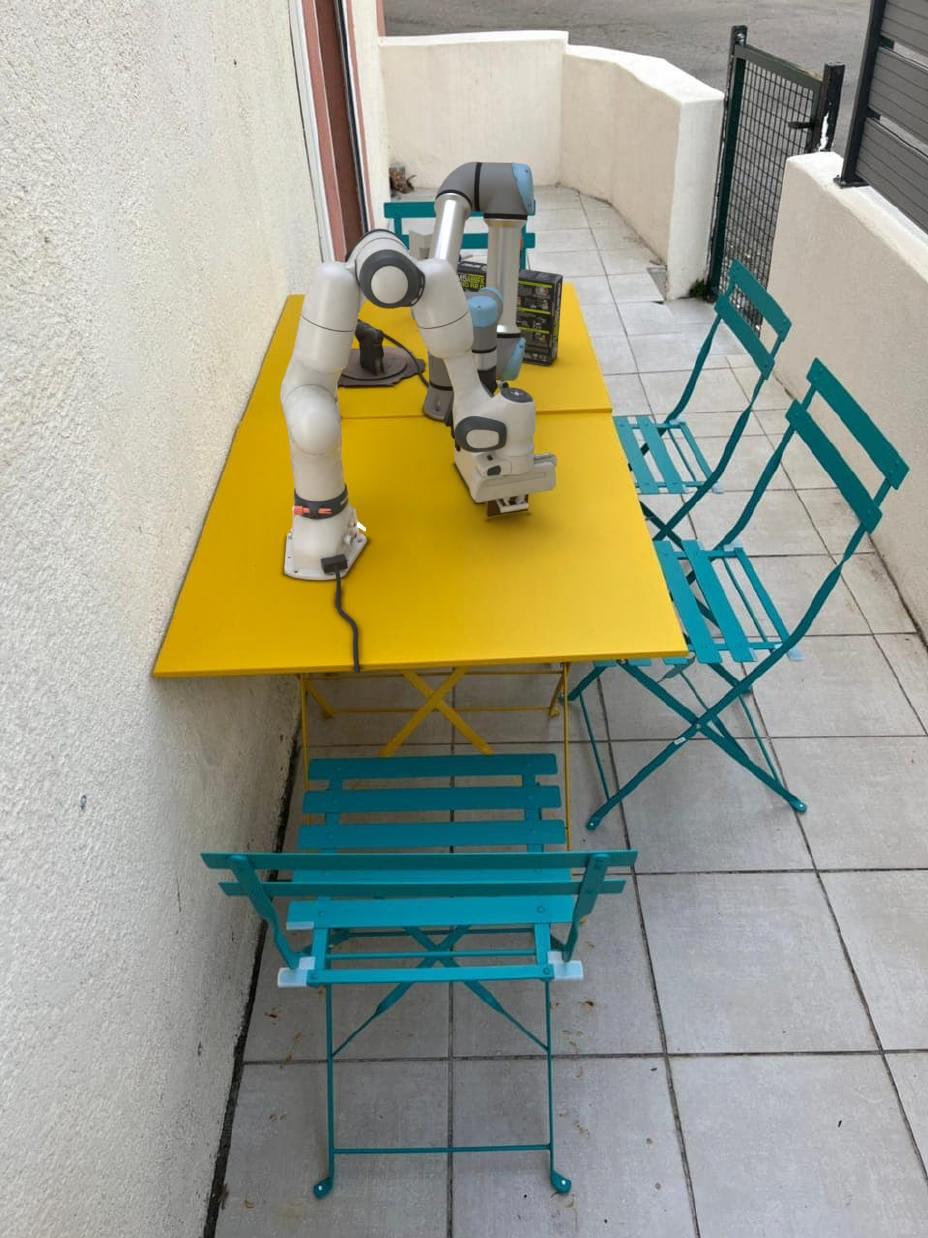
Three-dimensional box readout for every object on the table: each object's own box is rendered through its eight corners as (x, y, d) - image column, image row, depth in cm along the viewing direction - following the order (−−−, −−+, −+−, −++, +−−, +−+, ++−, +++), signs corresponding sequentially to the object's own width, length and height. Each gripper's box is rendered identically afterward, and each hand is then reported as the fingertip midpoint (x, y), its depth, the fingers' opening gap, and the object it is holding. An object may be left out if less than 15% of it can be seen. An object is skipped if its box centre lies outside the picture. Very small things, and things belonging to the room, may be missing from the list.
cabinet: (519, 496, 221) (520, 454, 214) (475, 503, 219) (475, 461, 211) (495, 458, 236) (496, 417, 228) (454, 464, 233) (453, 424, 226)
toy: (460, 304, 319) (459, 216, 299) (477, 312, 313) (477, 222, 294) (381, 329, 302) (375, 237, 283) (398, 337, 296) (393, 244, 277)
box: (558, 357, 283) (564, 272, 266) (551, 366, 278) (556, 280, 261) (461, 342, 293) (461, 259, 276) (453, 350, 288) (452, 266, 271)
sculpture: (406, 397, 263) (403, 345, 252) (297, 384, 270) (290, 333, 259) (437, 352, 287) (436, 303, 277) (336, 341, 294) (331, 293, 284)
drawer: (535, 522, 210) (537, 486, 204) (494, 529, 208) (494, 493, 202) (504, 473, 228) (505, 439, 221) (466, 479, 226) (466, 444, 219)
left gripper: (552, 444, 205) (548, 495, 214) (467, 458, 200) (467, 509, 209) (562, 458, 200) (558, 509, 209) (475, 471, 196) (475, 524, 205)
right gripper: (522, 352, 217) (519, 432, 232) (429, 364, 213) (431, 445, 227) (532, 364, 212) (529, 445, 226) (436, 377, 207) (439, 459, 221)
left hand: (512, 509), depth 209 cm, fingers closed, pressing on drawer
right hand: (480, 445), depth 226 cm, fingers closed on cabinet, 11 cm apart
